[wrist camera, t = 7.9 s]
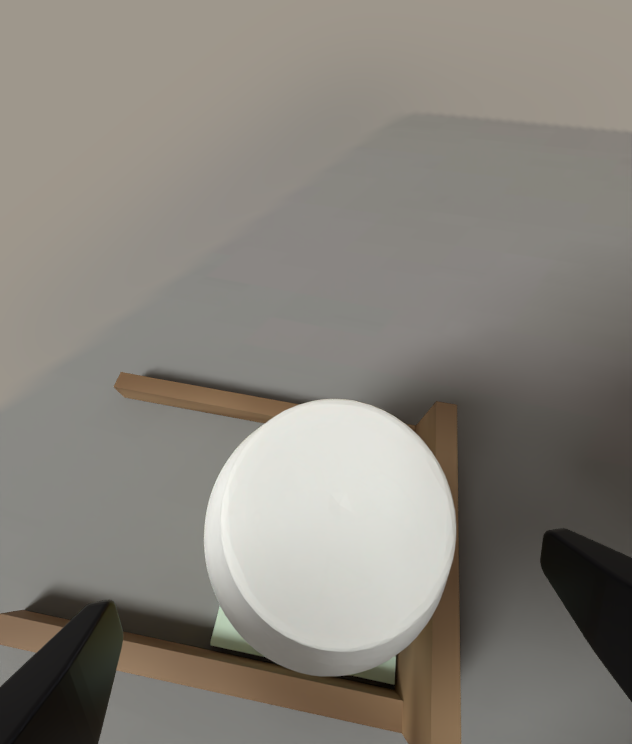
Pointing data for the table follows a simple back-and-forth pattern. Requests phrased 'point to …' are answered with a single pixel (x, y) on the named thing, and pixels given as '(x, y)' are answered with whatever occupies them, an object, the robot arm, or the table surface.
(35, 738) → the robot arm
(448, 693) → the bay
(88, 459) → the table surface
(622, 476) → the table surface
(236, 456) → the supplement bottle
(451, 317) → the table surface
